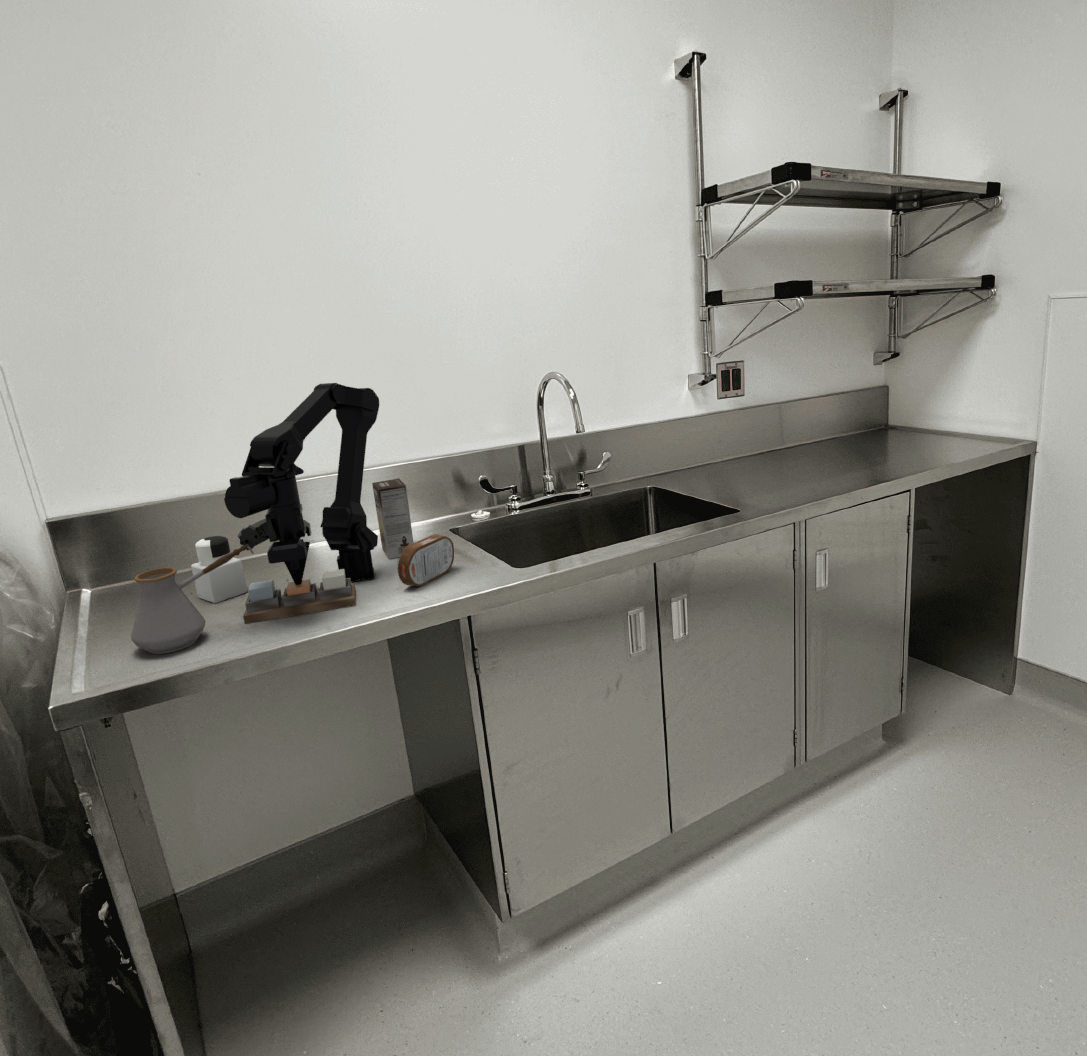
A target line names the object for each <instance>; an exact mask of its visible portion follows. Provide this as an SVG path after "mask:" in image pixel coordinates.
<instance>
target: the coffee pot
mask: <svg viewBox="0 0 1087 1056" xmlns="http://www.w3.org/2000/svg"><path fill="white" fill-rule="evenodd" d="M247 548H248V549H249V550H248V551H250V553H251V554H252V555H254V554H255V553H254V550H253V549H251V548H250V547H249V545H248V544H246V545H241V546H240V547H239V548H235V549H233V551H232V552H231V553H229V554H227V555H225V556H222V557H221V558H219V559H218V560H216V561H215V562H213V563H212V564H210V565H209V566H207V567H206V568H204V569H203V570H202V571H200V572H199V573H197V574H195V575H193V574H192V576H189V577H188V578H186V579H185V580H183V581H181V582H180V583H177V582H176V581H175V580H176V574H177V572H178V571H177V568H175V567H160V568H155V569H149V570H147V571H144V572H141V573H139V574H137V575H135V576H134V578H133V580H134V581H135V582H136V583H138V584H139V586H140V587H139V588H140V589H141V590H140V594H139V597H138V598H139V599H138V603H137V608H136V612H135V617H134V621H133V625H132V630H131V635H130V637H131V639H130V640H131V641H132V642H133V643H134V645H135V646H136V647H138V648H139V649H142V650H144V651H147V652H148V653H149V654H153V655H154V654H156V655H157V654H158V655H159V654H168V653H173V652H177V651H180V650H183V649H186V648H188V647H190V646H191V645H193V644H194V643H196V641H197V639H198V638H199V637H200V636H201V635H202V633H203V631H204V629H205V625H206V619H205V618H204V616H203V615H202V613H201V612H200V611H199V610H198V608H197V607H196V606H195V605H194V604H193V602H192V601H191V600H190V598H189V597H188V595H186V594H185V592H184V591H183V590H182V589H183V588H184V587H186V586H188V585H190V584H191V583H193V582H195V581H194V580H196V579H198V578H199V577H201V576H202V575H204V574H206V573H208V572H210V571H212V570H214V569H216V568H217V567H219V566H221V565H223V564H225V563H227V562H228V561H229V560H230V559H232V558H235V556H239V555H240V553H242V552H245V551H247V550H246V549H247Z"/></svg>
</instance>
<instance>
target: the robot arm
mask: <svg viewBox="0 0 1087 1056" xmlns="http://www.w3.org/2000/svg"><path fill="white" fill-rule="evenodd" d="M379 409H380V398H379V396H378V395H377V393H376V392H375V390H374V389H372V388H371V387H370V388H369V387H361V388H359V387H352V386H347V385H343V384H340V383H337V382H331V383H330V382H328V383H319V384H317V385H315V386H314V388H313V391H312V392H311V393H310V394H309V395H308V396H306V398H305V399H304V400H303V401H302V402H301V403H300V404H299V405H298V406H297V407H296V408H295V409H293V411H292V412H291V413H290V414H289V415H288V416H287V417H286V418H285V419H284V420H283V421H282V422H280V423H279V424H276V425H274V426H272V427H269V428H266V429H265V430H263V431H262V432H260V433H259V434H257V435H255V436H254V437H253V438H252V440H250V443H249V446H250V448H249V450H248V455H247V457H246V459H245V460H246V461H245V463H244V466H243V469H242V472H241V476H238V477H232V478H230V479H229V486H228V487H227V489H226V490H225V494H224V498H223V500H224V505H225V507H226V509H227V511H228V512H229V513H230V514H231V516H233V517H234V518H237V519H244V518H247V517H249V516H252V515H255V514H258V513H261V512H264V511H266V510H267V512H266V514H265V518H263V519H260V520H259V521H257V522H255V523H252V524H249V525H248V526H247V527H245V528H244V527H243V528H242V529H241V530H240V531H239V533H238V534H237V538H238V539H239V544H240V545H241V546H243V545H246V544H248V545H249V547H250V548H251V549H252V550H253V549H254V548H255V547H256V546H258V545H260V544H262V543H264V542H266V541H268V540H269V543H272V544H271V545H270V546H269V547H268V550H267V553H266V554H267V559H268V564H273V565H274V564H279V563H284V565H285V566H286V568H287V571H288V572H289V575H290V577H291V579H292V580H293V581H292V582H294V583H295V585H300V584H302V580H303V579H304V575H305V568H306V563H307V560H308V559H307V558H308V554H309V553H308V552H309V549H310V544H311V542H310V541H305V540H304V539H303V538H305V537H306V536H307V537H311V536H312V528H311V523H310V522H308V521H307V520H306V519H304V517H303V505H302V503H301V500H300V494H299V487H298V485H297V483H298V482H297V478H296V476H299V475H302V474H304V473H305V470H304V469H303V468H301V467H299V466H298V465H296V464H295V462H296V461H297V459H299V457H300V455H301V453H302V451H303V450H304V449H303V448H304V441H305V439H306V438H307V437H308V436H309V435H310V434H311V433H312V431H314V429H316V427H317V426H318V425H319V424H320V423H321V422H322V421H323V419H325V417H326V416H328V414H330V412H331V411H333V410H335V417H336V420H337V422H338V425H340V426H339V427H340V428H341V438H340V439H341V441H340V447H339V448H340V449H339V458H338V465H337V466H338V467H337V478H336V488H335V498H334V500H333V502H332V503H331V505H330V506H324V507H323V509H322V520H321V524H320V528H322V530H321V532H322V533H321V534H322V537H323V538H324V539H325V541H326V543H327V545H328V547H329V549H330V551H338V556H337V557H336V563H337V570H340V569H344V570H345V576H346V578H350V579H351V583H353V582H358V581H365V580H371V579H376V575H375V566H374V563H373V557H372V551H373V550H374V549H375V548H376V547H378V543H379V541H378V537H379V536H378V535H377V534H376V533H375V532H374V531H373V530H372V529H371V528H369V527H368V526H367V525H368V524H367V523H368V520H367V519H368V518H367V514H366V512H365V510H364V508H363V506H362V503H361V500H362V498H361V497H362V491H363V490H362V489H363V478H364V469H365V461H366V460H365V459H366V448H367V439H368V433H369V431H370V430H371V428H372V427H373V425H374V424H375V423H376V422H377V418H378V415H379ZM245 551H250V550H249V549H248V548H247V549H246V550H245Z"/></svg>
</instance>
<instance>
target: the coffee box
mask: <svg viewBox="0 0 1087 1056" xmlns="http://www.w3.org/2000/svg"><path fill="white" fill-rule="evenodd" d="M371 484H372V491H373V496H374V497H373V498H374V503H375V510H376V516H377V523H378V524H377V525H378V530H379V537H380V543H381V544H380V545H381V548H382V551H383V552H384V554H385V555H386V557H387V559H389V560H391V559H397V558H400V555H401V553H402V552H403V550H404V549H405V548H406V547H407V546H408V545H410V544H412V543H415V541H414V537H413V536H414V535H413V528H412V521H411V513H410V507H409V506H410V505H409V499H408V491H407V485H406V484H405V483H404V481H402V480H401V479H400V478H393V479H388V480H380V481H375V482H372V483H371Z"/></svg>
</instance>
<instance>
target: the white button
mask: <svg viewBox="0 0 1087 1056" xmlns="http://www.w3.org/2000/svg"><path fill="white" fill-rule="evenodd" d="M321 580H322V581H321V582H323V588H324V590H329V589H335V588H341V587H347V582H346V576H345V570H344V569H340V570H338V569H335V570H328V571H323V572H322V575H321Z"/></svg>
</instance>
